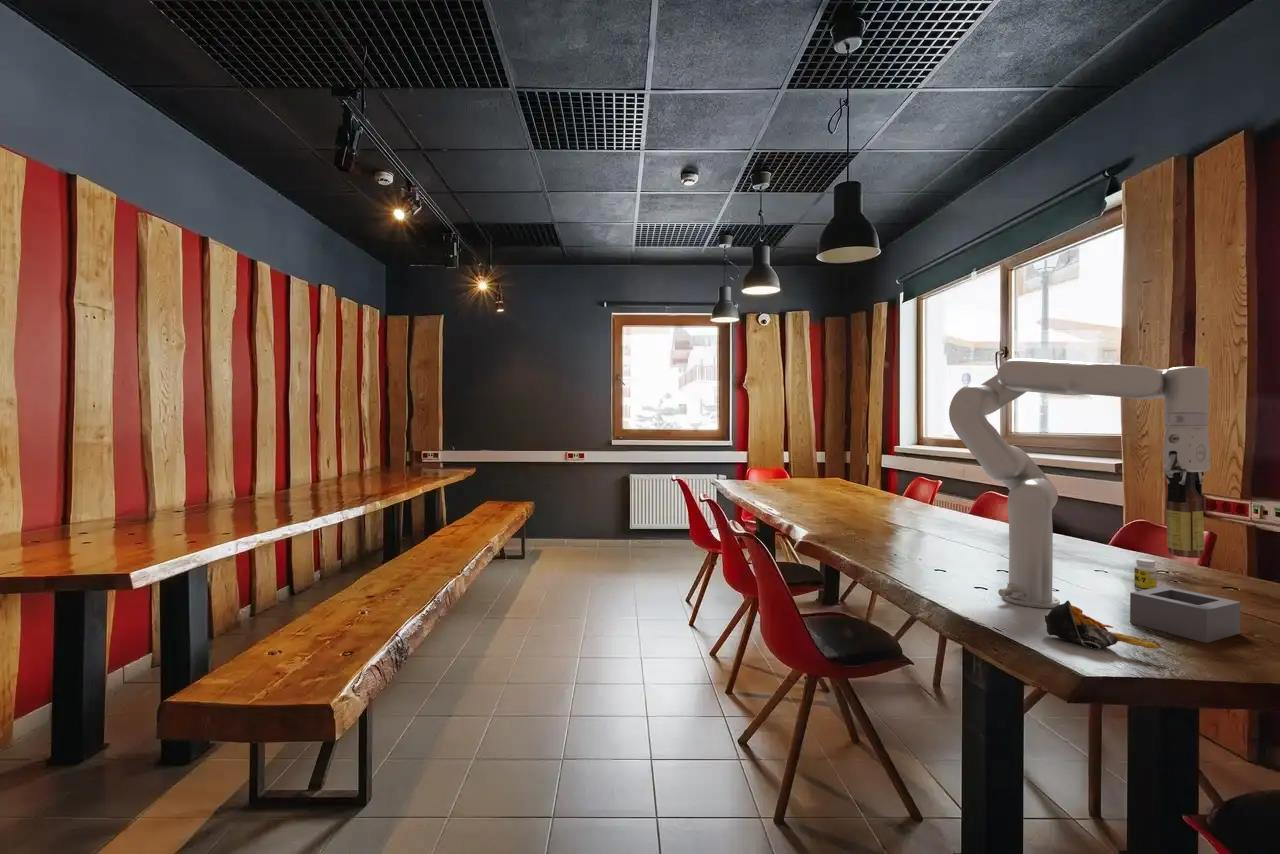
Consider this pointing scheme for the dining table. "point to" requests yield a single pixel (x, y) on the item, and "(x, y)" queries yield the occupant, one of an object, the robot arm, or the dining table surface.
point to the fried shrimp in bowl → (1087, 629)
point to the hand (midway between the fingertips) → (1184, 500)
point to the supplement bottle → (1145, 574)
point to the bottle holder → (1185, 613)
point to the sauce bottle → (1186, 523)
